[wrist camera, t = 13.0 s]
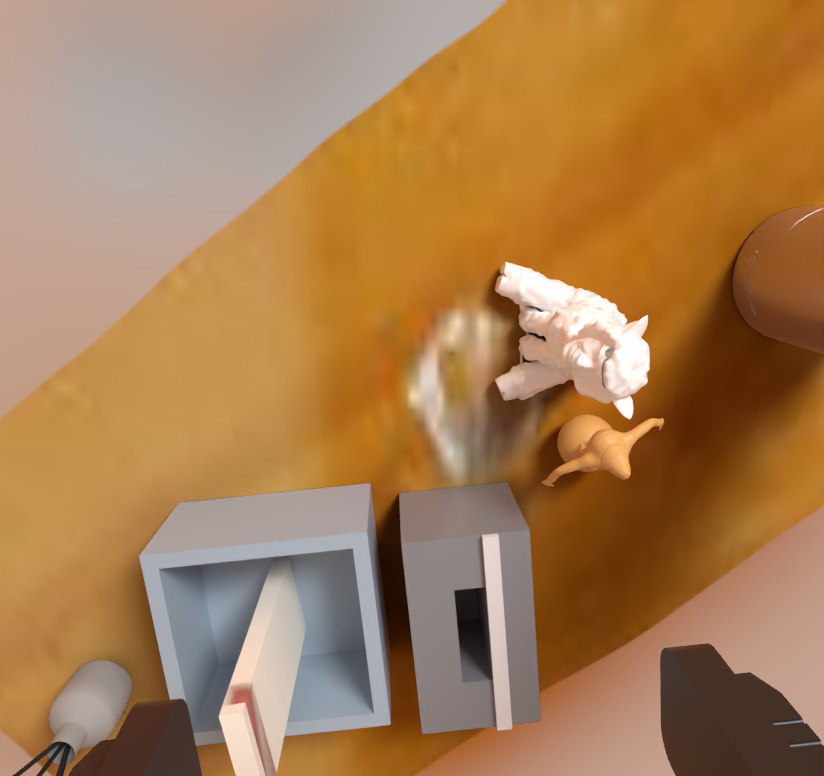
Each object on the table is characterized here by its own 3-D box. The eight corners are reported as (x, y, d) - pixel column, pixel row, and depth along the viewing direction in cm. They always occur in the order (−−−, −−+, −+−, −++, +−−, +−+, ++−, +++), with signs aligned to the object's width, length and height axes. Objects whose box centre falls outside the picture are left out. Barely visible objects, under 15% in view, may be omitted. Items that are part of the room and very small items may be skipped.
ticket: (272, 559, 49) (218, 716, 33) (288, 556, 49) (242, 712, 33) (290, 630, 50) (246, 812, 35) (306, 627, 50) (269, 809, 35)
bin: (370, 483, 49) (367, 532, 41) (390, 650, 52) (390, 724, 44) (179, 502, 48) (139, 555, 41) (211, 669, 52) (180, 747, 44)
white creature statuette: (492, 261, 45) (528, 274, 33) (618, 257, 45) (697, 267, 34) (493, 396, 47) (527, 452, 36) (612, 391, 48) (685, 445, 36)
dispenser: (398, 492, 49) (401, 546, 41) (507, 481, 49) (531, 532, 41) (417, 658, 52) (422, 738, 44) (518, 647, 52) (542, 725, 44)
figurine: (539, 483, 49) (587, 564, 37) (502, 415, 48) (539, 476, 36) (641, 429, 48) (722, 494, 37) (606, 359, 47) (678, 403, 35)
